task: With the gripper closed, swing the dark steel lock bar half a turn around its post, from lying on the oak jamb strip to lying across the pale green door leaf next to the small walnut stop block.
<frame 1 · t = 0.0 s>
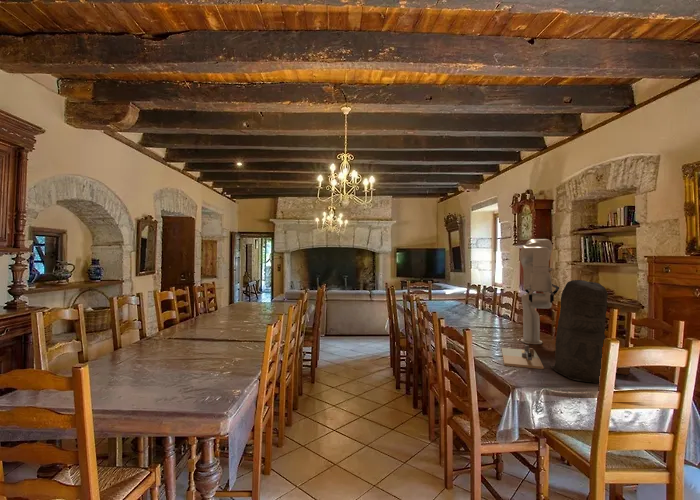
hand: (541, 302, 198), 31 cm above the table, tool pointing down, fingers open, 9 cm apart
swing bar: (528, 353, 194), point 5 cm above the table, hinge at 0.0°
bread: (612, 369, 185), on the table
door and jamb board: (520, 358, 203), on the table
stone sculpture: (581, 376, 173), on the table
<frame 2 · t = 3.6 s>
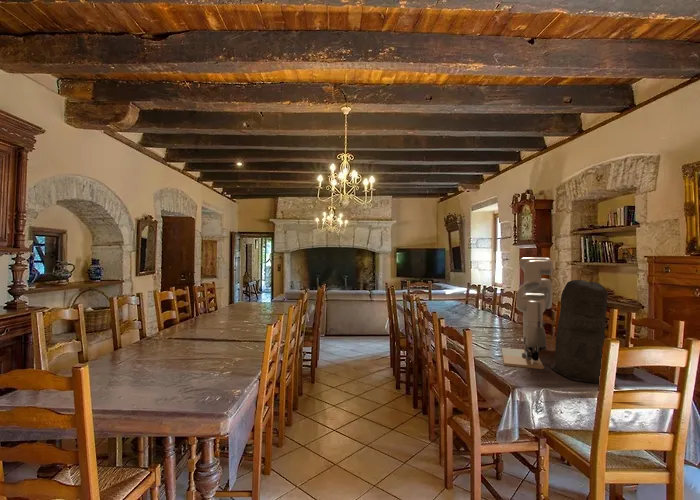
hand: (535, 359, 193), 2 cm above the table, tool pointing down, fingers closed
swing bar: (528, 353, 194), point 5 cm above the table, hinge at 1.4°, touching gripper
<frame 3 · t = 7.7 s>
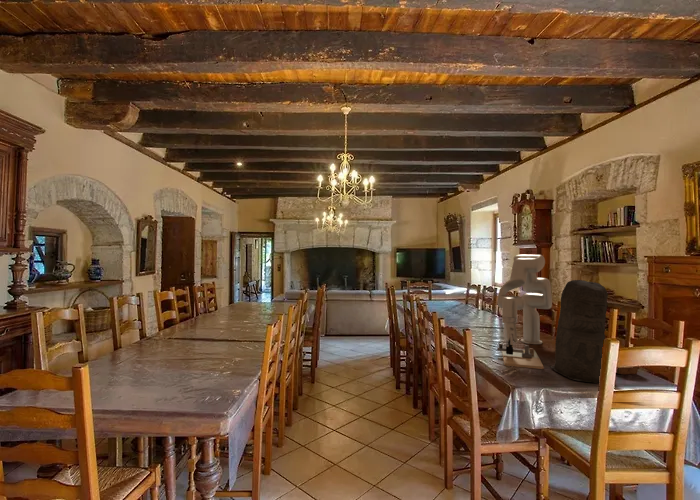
hand: (509, 354, 202), 3 cm above the table, tool pointing down, fingers closed
swing bar: (510, 348, 204), point 5 cm above the table, hinge at 93.3°, touching gripper
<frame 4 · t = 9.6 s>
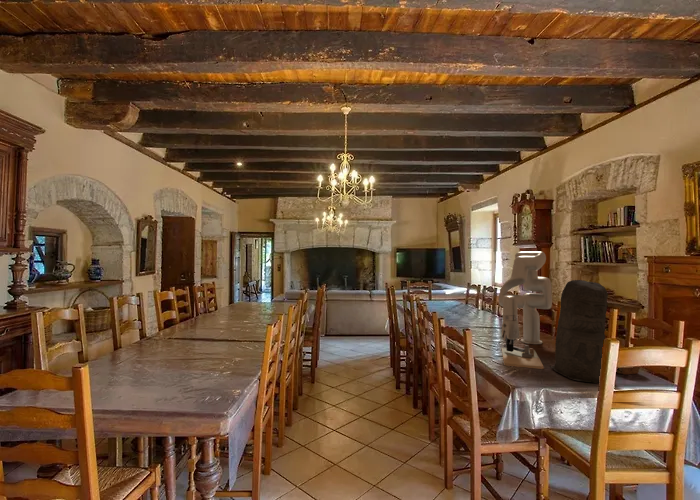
hand: (509, 351, 208), 3 cm above the table, tool pointing down, fingers closed
swing bar: (514, 346, 209), point 5 cm above the table, hinge at 135.2°, touching gripper
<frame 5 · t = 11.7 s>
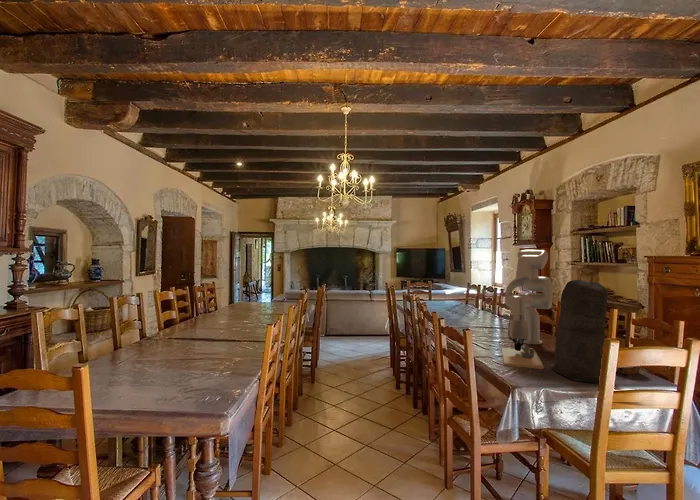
hand: (517, 350, 210), 3 cm above the table, tool pointing down, fingers closed
swing bar: (523, 346, 209), point 5 cm above the table, hinge at 174.1°, touching gripper
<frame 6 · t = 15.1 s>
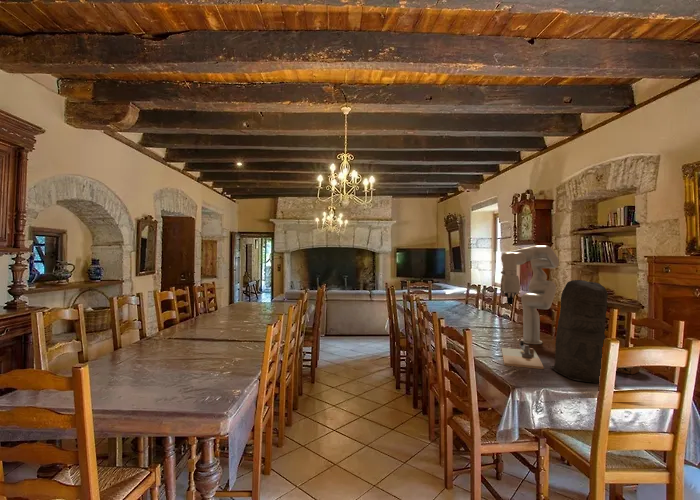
hand: (510, 303, 223), 27 cm above the table, tool pointing down, fingers closed
swing bar: (523, 346, 209), point 5 cm above the table, hinge at 174.3°
at the end: swing bar at +174° (first picture: +0°) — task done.
